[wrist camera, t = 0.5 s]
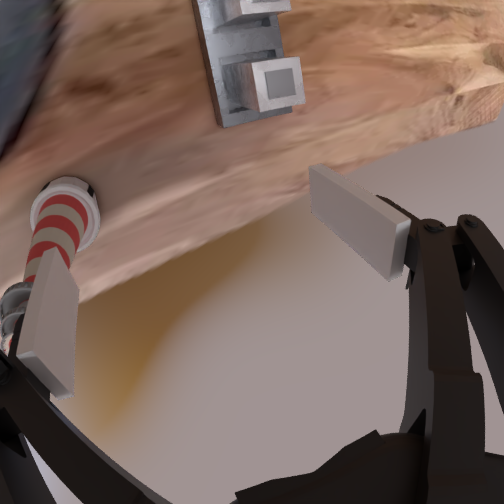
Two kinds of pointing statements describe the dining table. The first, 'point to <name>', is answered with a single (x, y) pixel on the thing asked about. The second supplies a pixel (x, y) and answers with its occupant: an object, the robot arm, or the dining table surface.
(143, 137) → the dining table surface
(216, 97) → the rail
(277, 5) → the grey square peg
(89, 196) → the miniature lighthouse
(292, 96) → the silver square post
